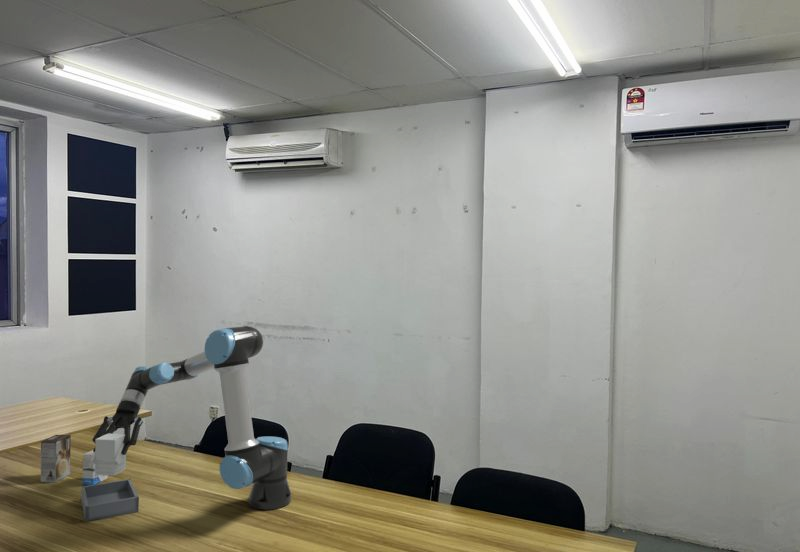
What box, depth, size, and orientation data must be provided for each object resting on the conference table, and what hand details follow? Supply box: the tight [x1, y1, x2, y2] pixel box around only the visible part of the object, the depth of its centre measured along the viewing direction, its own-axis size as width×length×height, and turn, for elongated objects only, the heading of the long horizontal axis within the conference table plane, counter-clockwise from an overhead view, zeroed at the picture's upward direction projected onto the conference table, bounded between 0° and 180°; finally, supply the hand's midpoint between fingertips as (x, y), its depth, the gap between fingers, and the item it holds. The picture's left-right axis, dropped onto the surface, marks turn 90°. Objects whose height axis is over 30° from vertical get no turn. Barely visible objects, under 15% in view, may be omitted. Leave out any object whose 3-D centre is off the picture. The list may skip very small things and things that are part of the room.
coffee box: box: [40, 434, 72, 483], centre depth 219 cm, size 9×6×16 cm
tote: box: [80, 478, 140, 523], centre depth 195 cm, size 20×16×5 cm
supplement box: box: [94, 433, 127, 477], centre depth 195 cm, size 7×7×13 cm
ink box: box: [82, 449, 109, 486], centre depth 217 cm, size 9×5×12 cm, turn 168°
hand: (105, 462), depth 192 cm, fingers closed on supplement box, 7 cm apart
